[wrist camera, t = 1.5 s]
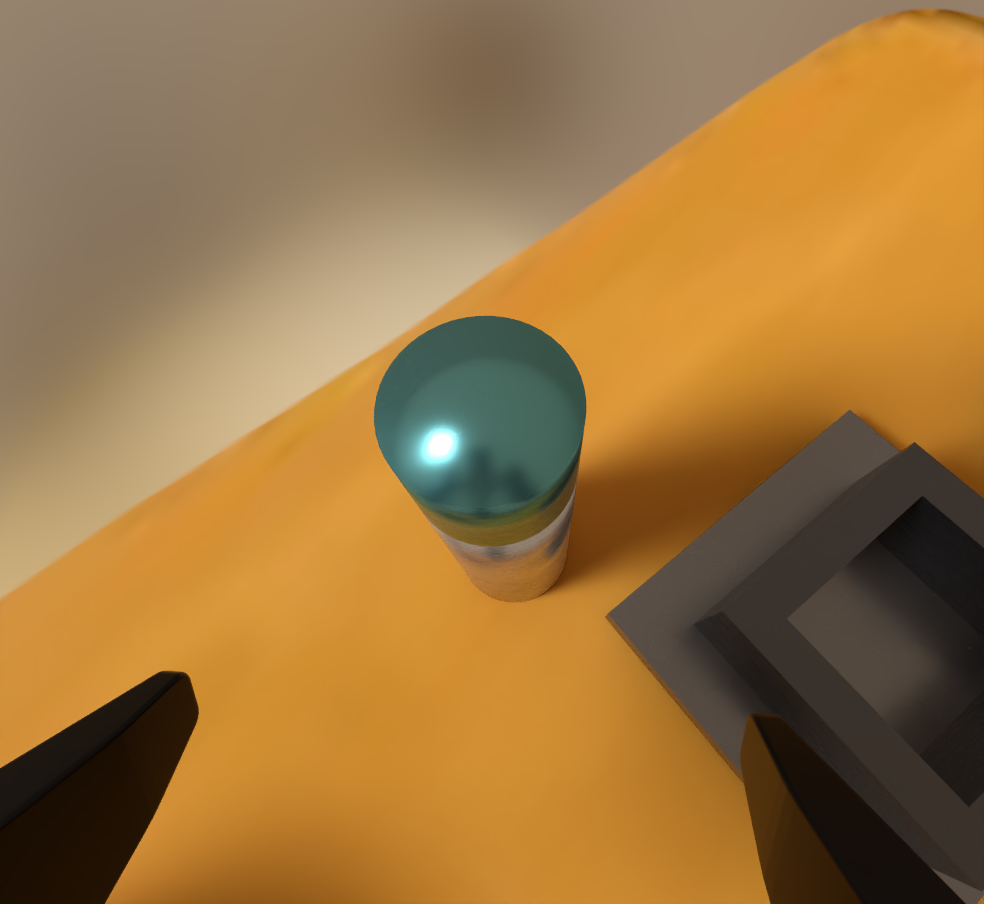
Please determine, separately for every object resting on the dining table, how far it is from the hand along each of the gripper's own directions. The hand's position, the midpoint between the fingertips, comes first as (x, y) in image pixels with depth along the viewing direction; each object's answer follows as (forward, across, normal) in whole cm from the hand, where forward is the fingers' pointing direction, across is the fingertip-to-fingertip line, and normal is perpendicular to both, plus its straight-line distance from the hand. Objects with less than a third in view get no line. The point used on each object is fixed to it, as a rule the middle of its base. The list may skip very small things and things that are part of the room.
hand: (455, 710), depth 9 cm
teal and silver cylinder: (+12, 0, +5) cm, 13 cm away
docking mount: (+10, -12, +7) cm, 17 cm away
